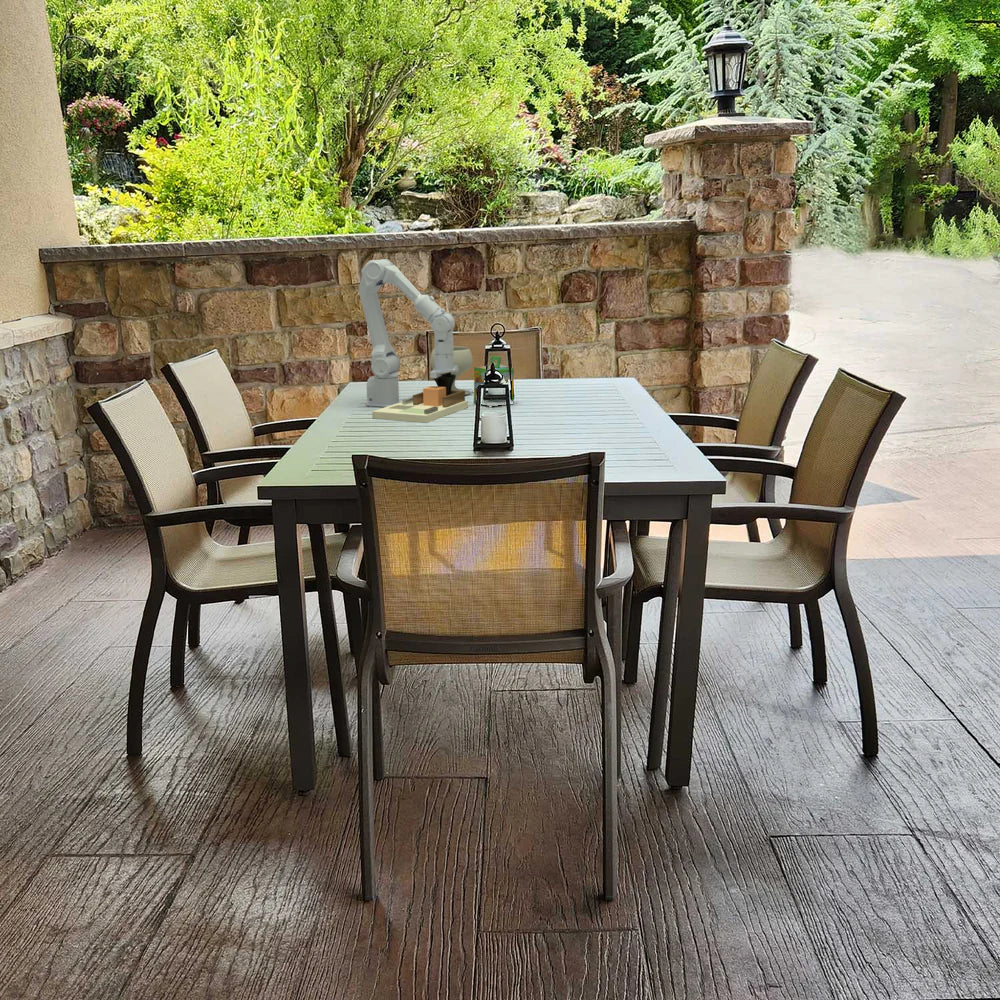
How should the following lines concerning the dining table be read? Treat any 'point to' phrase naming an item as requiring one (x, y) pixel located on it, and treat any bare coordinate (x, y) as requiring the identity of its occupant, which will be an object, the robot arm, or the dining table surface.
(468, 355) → the chalice
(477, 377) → the chalk box
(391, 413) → the deck
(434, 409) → the short rod
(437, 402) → the cube
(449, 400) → the cubby
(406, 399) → the long grey rectangular bar
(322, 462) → the dining table surface
